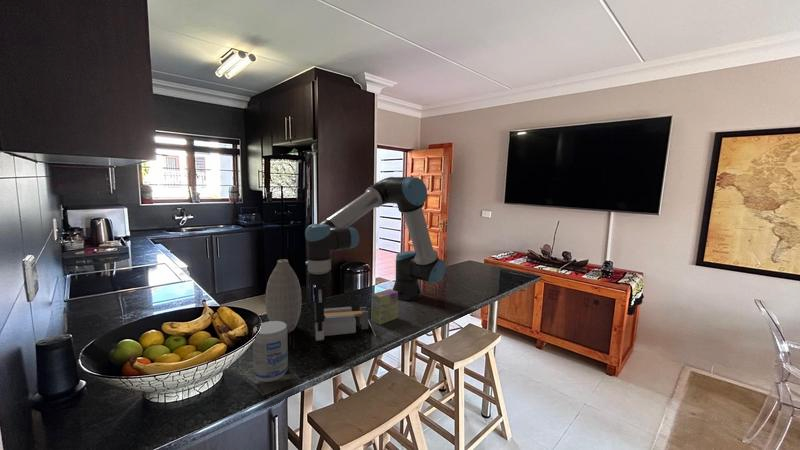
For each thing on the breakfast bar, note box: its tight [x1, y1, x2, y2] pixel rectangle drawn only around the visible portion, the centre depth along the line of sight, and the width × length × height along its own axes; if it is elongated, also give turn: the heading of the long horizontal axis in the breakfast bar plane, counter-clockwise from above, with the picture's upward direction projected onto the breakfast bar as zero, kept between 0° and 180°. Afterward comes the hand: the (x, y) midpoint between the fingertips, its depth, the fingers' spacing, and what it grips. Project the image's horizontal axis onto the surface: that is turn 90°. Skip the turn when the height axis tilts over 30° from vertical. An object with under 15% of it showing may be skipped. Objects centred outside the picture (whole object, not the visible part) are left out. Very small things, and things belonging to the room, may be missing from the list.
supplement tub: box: [252, 320, 289, 383], centre depth 96 cm, size 10×10×15 cm
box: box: [370, 288, 399, 325], centre depth 138 cm, size 10×6×12 cm, turn 134°
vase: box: [265, 258, 302, 334], centre depth 123 cm, size 13×13×28 cm
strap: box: [324, 310, 365, 318], centre depth 126 cm, size 19×4×2 cm, turn 106°
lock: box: [314, 313, 324, 342], centre depth 118 cm, size 2×6×8 cm, turn 16°
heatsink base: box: [324, 306, 377, 338], centre depth 126 cm, size 24×18×8 cm
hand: (319, 338), depth 111 cm, fingers closed
